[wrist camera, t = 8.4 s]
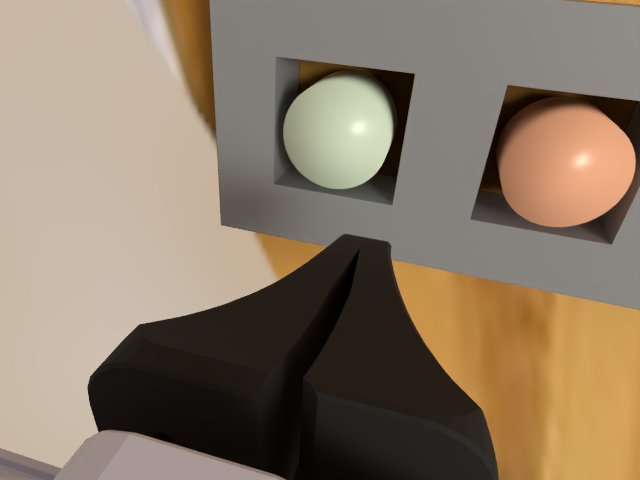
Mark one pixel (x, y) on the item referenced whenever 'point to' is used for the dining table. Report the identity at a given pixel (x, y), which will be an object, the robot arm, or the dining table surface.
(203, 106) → the dining table surface
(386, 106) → the button sage
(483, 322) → the dining table surface
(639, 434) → the dining table surface
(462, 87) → the button panel
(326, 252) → the robot arm
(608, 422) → the dining table surface
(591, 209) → the button terracotta
